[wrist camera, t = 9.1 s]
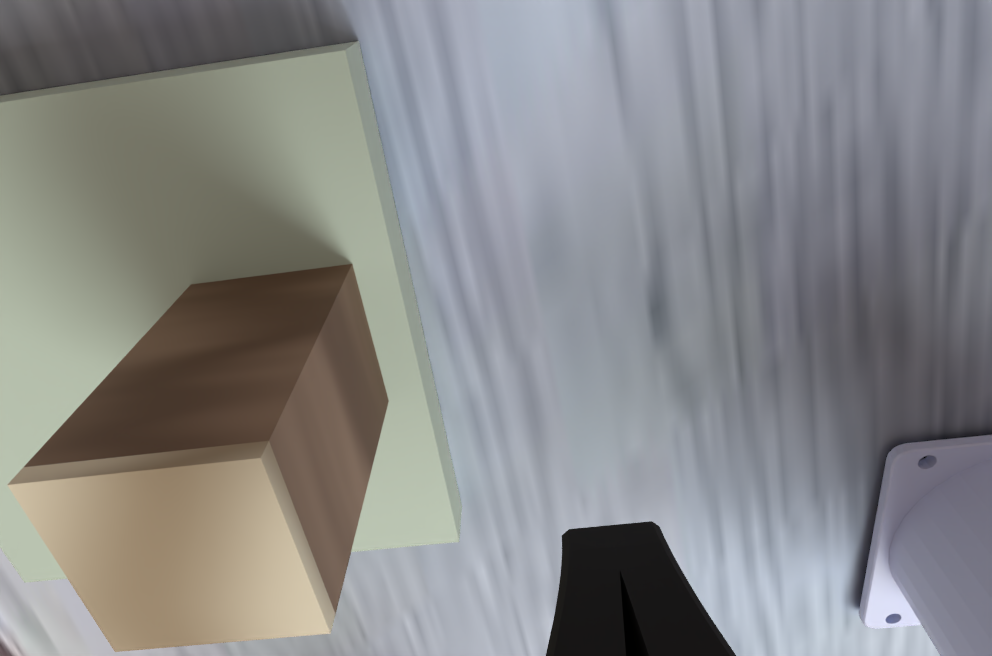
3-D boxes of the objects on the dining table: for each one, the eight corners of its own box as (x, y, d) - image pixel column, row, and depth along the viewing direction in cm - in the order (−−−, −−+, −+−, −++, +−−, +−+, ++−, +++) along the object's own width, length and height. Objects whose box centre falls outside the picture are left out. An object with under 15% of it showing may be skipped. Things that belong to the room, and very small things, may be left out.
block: (352, 263, 16) (261, 458, 10) (388, 400, 18) (330, 633, 12) (190, 284, 16) (7, 485, 10) (243, 417, 18) (115, 651, 12)
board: (358, 40, 15) (345, 49, 14) (462, 506, 22) (459, 541, 21) (-216, 128, 16) (-279, 144, 15) (51, 546, 23) (24, 582, 22)
